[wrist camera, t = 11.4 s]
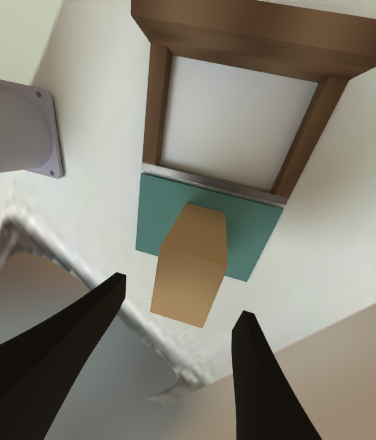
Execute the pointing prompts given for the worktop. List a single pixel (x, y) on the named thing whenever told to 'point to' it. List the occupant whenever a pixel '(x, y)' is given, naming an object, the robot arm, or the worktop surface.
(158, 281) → the block
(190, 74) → the worktop surface
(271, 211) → the mat
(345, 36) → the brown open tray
